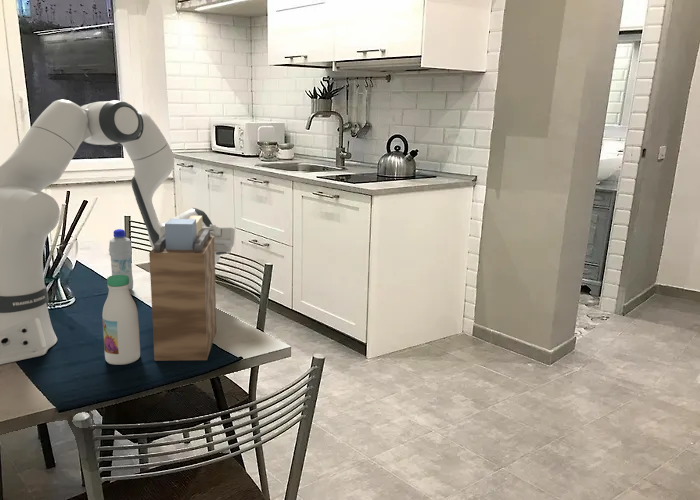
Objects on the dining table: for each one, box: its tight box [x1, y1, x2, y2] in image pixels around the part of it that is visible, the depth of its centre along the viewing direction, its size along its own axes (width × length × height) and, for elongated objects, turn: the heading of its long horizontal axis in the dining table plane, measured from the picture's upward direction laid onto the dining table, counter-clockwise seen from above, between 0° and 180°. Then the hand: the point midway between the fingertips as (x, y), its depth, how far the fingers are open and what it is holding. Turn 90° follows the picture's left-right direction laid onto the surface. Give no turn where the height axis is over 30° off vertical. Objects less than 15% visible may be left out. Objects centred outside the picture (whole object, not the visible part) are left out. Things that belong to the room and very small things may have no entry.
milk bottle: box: [101, 275, 141, 366], centre depth 133 cm, size 8×8×20 cm
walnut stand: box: [148, 229, 217, 362], centre depth 141 cm, size 18×12×28 cm, turn 6°
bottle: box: [108, 228, 134, 292], centre depth 180 cm, size 7×7×20 cm
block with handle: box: [165, 216, 203, 250], centre depth 145 cm, size 26×6×6 cm, turn 6°
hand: (194, 227), depth 154 cm, fingers open, 8 cm apart
